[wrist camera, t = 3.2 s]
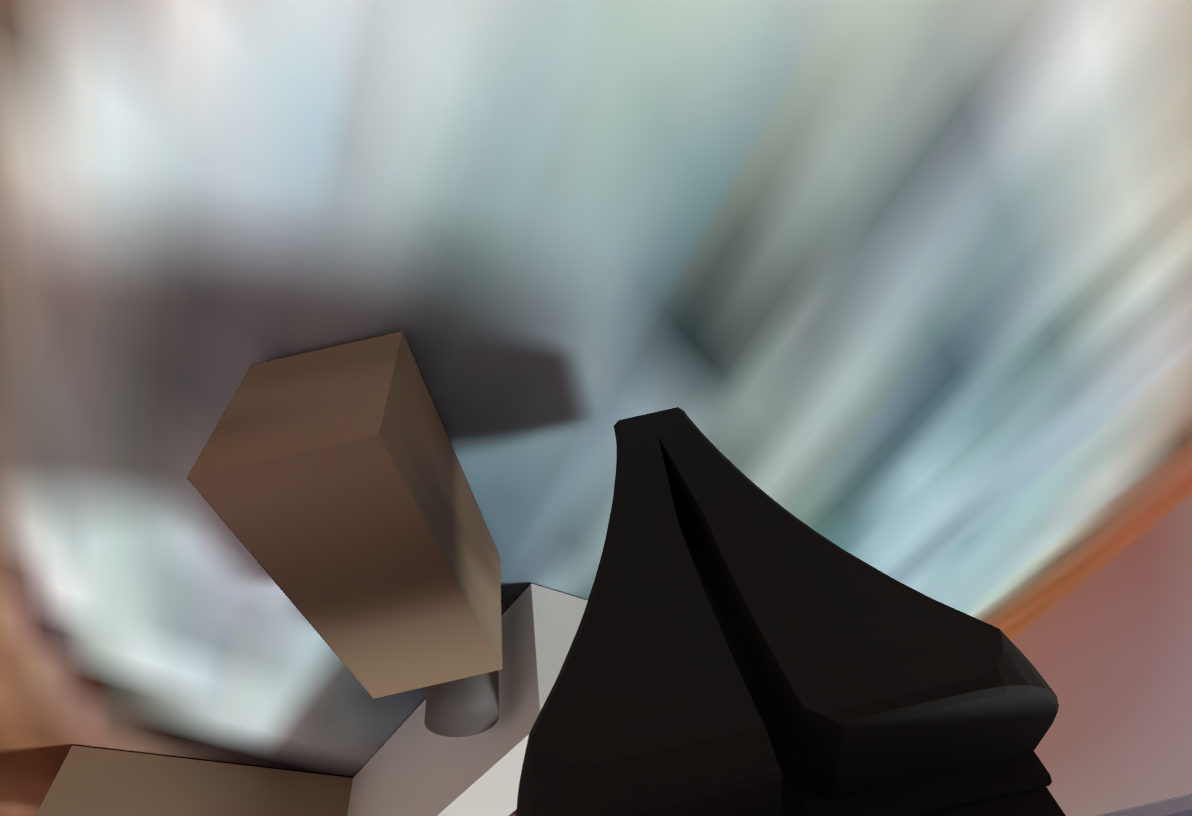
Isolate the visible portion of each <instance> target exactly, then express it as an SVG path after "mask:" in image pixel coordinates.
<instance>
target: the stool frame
mask: <svg viewBox="0 0 1192 816" xmlns="http://www.w3.org/2000/svg"><path fill="white" fill-rule="evenodd" d="M587 602H588V601H587V600H584V599H581V598H578V597H574V596H571V595H568V594H565V593H561V592H558V591H555V590H551V589H548V588H545V587H541V586H538V585H535V584H532V583H531V584H530V585H529V586H528V588H527V589H526V590H525V591H524V592H523V593H522V594H521V595H520V596H519V597H518V598H517V600H516V601H515V602H514V603H513V604H512V605H511V606H510V607H509V608H508V609H507V610H506V612H505V613H504V614H503V615H502V616H501V621H502V669H501V670H499V719H498V721H497V723H496V724H495V725H494V726H493V727H492V728H490V729H488V730H486V731H484V732H482V733H479V734H476V735H472V736H466V737H446V736H441V735H437V734H435V733H433V732H431V731H429V730H428V729H427V728H426V726H425V723H424V719H425V707H426V699H425V700H424V701H423V702H422V703H421V704H420V706H419V707H418V708H417V709H416V710H415V711H414V712H413V713H412V714H411V715H410V716H409V718H408V719H407V720H406V721H405V722H404V723H403V724H402V725H401V726H400V727H399V728H398V730H397V731H396V732H395V733H394V734H393V735H392V736H391V737H390V738H389V739H388V740H387V742H386V743H385V744H384V745H383V746H382V747H381V748H380V749H379V750H378V751H377V752H376V754H375V755H374V756H373V757H372V758H371V759H370V760H369V761H368V762H367V763H366V765H365V766H364V767H363V768H362V769H361V770H360V771H359V772H358V773H357V774H356V775H355V777H354V778H349V777H340V776H332V775H323V774H315V773H306V772H297V771H289V770H280V769H272V768H263V767H254V766H246V765H237V764H229V763H220V762H211V761H203V760H194V759H186V758H177V757H168V756H160V755H151V754H143V753H134V752H125V751H117V750H108V749H100V748H91V747H82V746H74V745H72V747H71V749H70V751H69V753H68V754H67V756H66V758H65V760H64V762H63V764H62V766H61V768H60V770H59V772H58V774H57V775H56V777H55V779H54V781H53V783H52V785H51V787H50V789H49V791H48V793H47V794H46V796H45V798H44V800H43V802H42V804H41V806H40V808H39V810H38V812H37V813H36V815H35V816H509V815H510V814H511V813H512V812H514V811H515V810H516V809H517V797H518V789H519V782H520V776H521V771H522V765H523V760H524V755H525V751H526V746H527V742H528V737H529V733H530V731H531V729H532V727H533V725H534V723H535V721H536V719H537V717H538V715H539V713H540V711H541V709H542V707H543V705H544V703H545V701H546V699H547V697H548V695H549V693H550V691H551V689H552V687H553V685H554V683H555V681H556V679H557V677H558V675H559V672H560V670H561V668H562V665H563V663H564V661H565V658H566V656H567V654H568V651H569V649H570V646H571V644H572V642H573V639H574V637H575V635H576V632H577V630H578V627H579V625H580V622H581V619H582V616H583V614H584V611H585V608H586V605H587Z"/></svg>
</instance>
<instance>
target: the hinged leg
mask: <svg viewBox="0 0 1192 816" xmlns="http://www.w3.org/2000/svg"><path fill="white" fill-rule="evenodd" d="M187 478H188V480H189V481H190V482H191V483H192V484H193V486H194V487H195V488H196V489H197V490H198V492H199V493H200V494H201V495H202V496H203V497H204V499H205V500H206V501H207V502H208V503H209V505H210V506H211V507H212V508H213V509H214V510H215V512H216V513H217V514H218V515H219V516H220V518H221V519H222V520H223V521H224V522H225V523H226V525H227V526H228V527H229V528H230V529H231V531H232V532H233V533H234V534H235V535H236V537H237V538H238V539H239V540H240V541H241V542H242V544H243V545H244V546H245V547H246V548H247V550H248V551H249V552H250V553H251V554H252V555H253V557H254V558H255V559H256V560H257V561H258V563H259V564H260V565H261V566H262V567H263V568H264V570H265V571H266V572H267V573H268V574H269V576H270V577H271V578H272V579H273V580H274V581H275V583H276V584H277V585H278V586H279V587H280V589H281V590H282V591H283V592H284V593H285V595H286V596H287V597H288V598H289V599H290V600H291V602H292V603H293V604H294V605H295V606H296V608H297V609H298V610H299V611H300V612H301V613H302V615H303V616H304V617H305V618H306V619H307V621H308V622H309V623H310V624H311V625H312V626H313V628H314V629H315V630H316V631H317V632H318V634H319V635H320V636H321V637H322V638H323V640H324V641H325V642H326V643H327V644H328V645H329V647H330V648H331V649H332V650H333V651H334V653H335V654H336V655H337V656H338V657H339V658H340V660H341V661H342V662H343V663H344V664H345V666H346V667H347V668H348V669H349V670H350V671H351V673H352V674H353V675H354V676H355V677H356V679H357V680H358V681H359V682H360V683H361V684H362V686H363V687H364V688H365V689H366V690H367V692H368V693H369V694H370V695H371V696H372V698H373V699H375V698H379V697H384V696H388V695H392V694H397V693H401V692H405V691H410V690H414V689H419V688H423V687H427V695H426V707H425V719H424V723H425V726H426V728H427V729H428V730H429V731H431V732H433V733H435V734H437V735H441V736H446V737H466V736H472V735H476V734H479V733H482V732H484V731H486V730H488V729H490V728H492V727H493V726H494V725H495V724H496V723H497V721H498V719H499V670H501V669H502V621H501V572H500V556H499V553H498V551H497V549H496V547H495V544H494V542H493V540H492V537H491V535H490V533H489V530H488V528H487V526H486V523H485V521H484V519H483V516H482V514H481V512H480V510H479V507H478V505H477V503H476V500H475V498H474V496H473V493H472V491H471V489H470V486H469V484H468V482H467V479H466V477H465V475H464V472H463V470H462V468H461V466H460V463H459V461H458V459H457V456H456V454H455V452H454V449H453V447H452V445H451V442H450V440H449V438H448V435H447V433H446V431H445V429H444V426H443V424H442V422H441V419H440V417H439V415H438V412H437V410H436V408H435V405H434V403H433V401H432V398H431V396H430V394H429V392H428V389H427V387H426V385H425V382H424V380H423V378H422V375H421V373H420V371H419V368H418V366H417V364H416V361H415V359H414V357H413V354H412V352H411V350H410V348H409V345H408V343H407V341H406V338H405V336H404V334H403V331H400V332H396V333H391V334H387V335H382V336H378V337H373V338H369V339H364V340H360V341H355V342H351V343H347V344H342V345H338V346H333V347H329V348H324V349H320V350H315V351H311V352H306V353H302V354H297V355H293V356H288V357H284V358H279V359H275V360H270V361H266V362H261V363H257V364H252V366H251V367H250V369H249V371H248V373H247V374H246V376H245V378H244V379H243V381H242V383H241V385H240V386H239V388H238V390H237V392H236V393H235V395H234V397H233V399H232V400H231V402H230V404H229V406H228V407H227V409H226V411H225V413H224V414H223V416H222V418H221V419H220V421H219V423H218V425H217V426H216V428H215V430H214V432H213V433H212V435H211V437H210V439H209V440H208V442H207V444H206V446H205V447H204V449H203V451H202V452H201V454H200V456H199V458H198V459H197V461H196V463H195V465H194V466H193V468H192V470H191V472H190V473H189V475H188V477H187Z"/></svg>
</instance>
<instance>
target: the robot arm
mask: <svg viewBox="0 0 1192 816" xmlns="http://www.w3.org/2000/svg"><path fill="white" fill-rule="evenodd" d="M614 430H615V435H616V443H617V463H616V477H615V486H614V496H613V503H612V509H611V514H610V519H609V524H608V530H607V535H606V539H605V544H604V548H603V552H602V556H601V560H600V563H599V567H598V570H597V574H596V577H595V581H594V584H593V587H592V590H591V593H590V596H589V599H588V602H587V605H586V608H585V611H584V614H583V616H582V619H581V622H580V625H579V627H578V630H577V632H576V635H575V637H574V639H573V642H572V644H571V646H570V649H569V651H568V654H567V656H566V658H565V661H564V663H563V665H562V668H561V670H560V672H559V675H558V677H557V679H556V681H555V683H554V685H553V687H552V689H551V691H550V693H549V695H548V697H547V699H546V701H545V703H544V705H543V707H542V709H541V711H540V713H539V715H538V717H537V719H536V721H535V723H534V725H533V727H532V729H531V731H530V733H529V737H528V742H527V746H526V751H525V755H524V760H523V765H522V771H521V776H520V782H519V789H518V797H517V811H516V816H1065V814H1064V813H1063V811H1062V810H1061V808H1060V807H1059V805H1058V804H1057V802H1056V801H1055V799H1054V798H1053V796H1052V795H1051V793H1050V792H1049V790H1048V789H1047V787H1046V786H1049V785H1050V784H1051V782H1052V781H1051V777H1050V774H1049V773H1048V771H1047V770H1046V768H1045V767H1044V765H1043V764H1042V763H1041V761H1040V760H1039V758H1038V757H1037V755H1036V754H1035V752H1034V750H1035V748H1036V747H1037V745H1038V744H1039V742H1040V741H1041V739H1042V738H1043V736H1044V735H1045V733H1046V732H1047V731H1048V729H1049V728H1050V726H1051V725H1052V723H1053V721H1054V719H1055V716H1056V714H1057V711H1058V706H1059V705H1058V700H1057V696H1056V694H1055V693H1054V692H1053V691H1052V689H1051V688H1050V687H1049V685H1048V684H1047V683H1046V682H1045V680H1044V679H1043V678H1042V676H1041V675H1040V674H1039V672H1038V671H1037V670H1036V668H1035V667H1034V666H1033V665H1032V664H1031V663H1030V661H1029V660H1028V659H1027V658H1026V657H1025V656H1024V655H1023V654H1022V653H1021V651H1020V650H1019V649H1018V648H1017V647H1016V646H1015V645H1014V644H1013V643H1012V642H1011V641H1010V640H1009V639H1008V638H1007V637H1006V636H1005V634H1004V633H1003V632H1002V631H1001V630H1000V629H998V628H996V627H994V626H992V625H989V624H987V623H985V622H983V621H981V620H978V619H976V618H974V617H972V616H969V615H967V614H965V613H963V612H960V611H958V610H956V609H954V608H951V607H949V606H947V605H945V604H942V603H940V602H938V601H936V600H934V599H931V598H929V597H927V596H925V595H923V594H922V593H920V592H918V591H916V590H914V589H912V588H910V587H908V586H906V585H904V584H902V583H900V582H898V581H896V580H895V579H893V578H891V577H889V576H888V575H886V574H884V573H882V572H881V571H879V570H877V569H876V568H874V567H872V566H870V565H869V564H867V563H865V562H864V561H862V560H860V559H858V558H857V557H855V556H853V555H852V554H850V553H848V552H846V551H845V550H843V549H842V548H840V547H838V546H837V545H835V544H834V543H832V542H831V541H829V540H828V539H826V538H825V537H823V536H822V535H820V534H819V533H817V532H816V531H814V530H813V529H812V528H810V527H809V526H807V525H806V524H805V523H803V522H802V521H800V520H799V519H797V518H796V517H795V516H793V515H792V514H791V513H789V512H788V511H787V510H786V509H784V508H783V507H782V506H780V505H779V504H778V503H777V502H775V501H774V500H773V499H772V498H771V497H769V496H768V495H767V494H766V493H765V492H763V491H762V490H761V489H760V488H759V487H757V486H756V485H755V484H754V483H753V482H752V481H751V480H749V479H748V478H747V477H746V476H745V475H744V474H743V473H742V472H741V471H740V470H739V469H737V468H736V467H735V466H734V465H733V464H732V463H731V462H730V461H729V460H728V459H727V458H726V457H725V456H724V455H723V454H722V453H721V452H720V451H719V450H718V449H717V448H716V447H715V446H714V445H713V444H712V443H711V442H710V441H709V440H708V439H707V438H706V437H705V436H704V434H703V433H702V432H701V431H700V430H699V429H698V428H697V427H696V425H695V424H694V423H693V422H692V421H691V420H690V418H689V417H688V416H687V415H686V413H685V412H684V411H683V410H681V409H680V408H678V407H677V408H672V409H668V410H663V411H659V412H654V413H650V414H646V415H641V416H637V417H632V418H628V419H623V420H619V421H618V422H617V423H616V424H615V425H614ZM1098 816H1192V794H1188V795H1184V796H1179V797H1175V798H1171V799H1167V800H1162V801H1158V802H1154V803H1150V804H1145V805H1141V806H1137V807H1132V808H1128V809H1124V810H1119V811H1115V812H1111V813H1107V814H1103V815H1098Z"/></svg>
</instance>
